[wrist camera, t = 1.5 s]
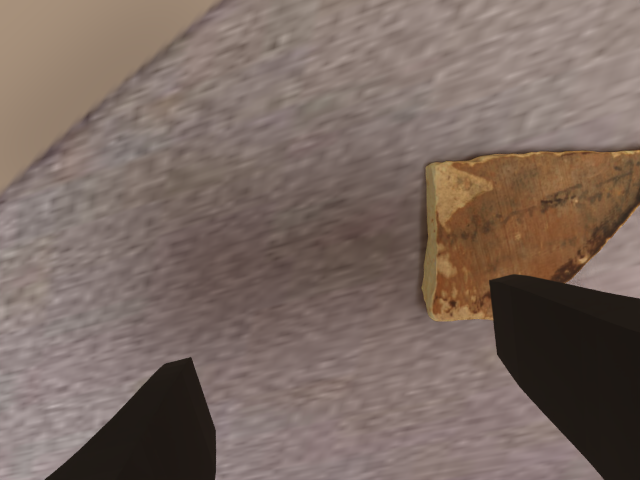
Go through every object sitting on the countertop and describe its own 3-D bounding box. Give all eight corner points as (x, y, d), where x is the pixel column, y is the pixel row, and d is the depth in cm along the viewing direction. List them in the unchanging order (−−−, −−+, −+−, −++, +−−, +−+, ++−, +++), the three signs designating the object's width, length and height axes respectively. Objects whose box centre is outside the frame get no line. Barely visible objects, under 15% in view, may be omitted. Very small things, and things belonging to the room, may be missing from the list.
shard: (664, 143, 21) (700, 146, 19) (636, 306, 23) (667, 323, 21) (421, 152, 20) (437, 157, 18) (415, 325, 22) (429, 344, 20)
